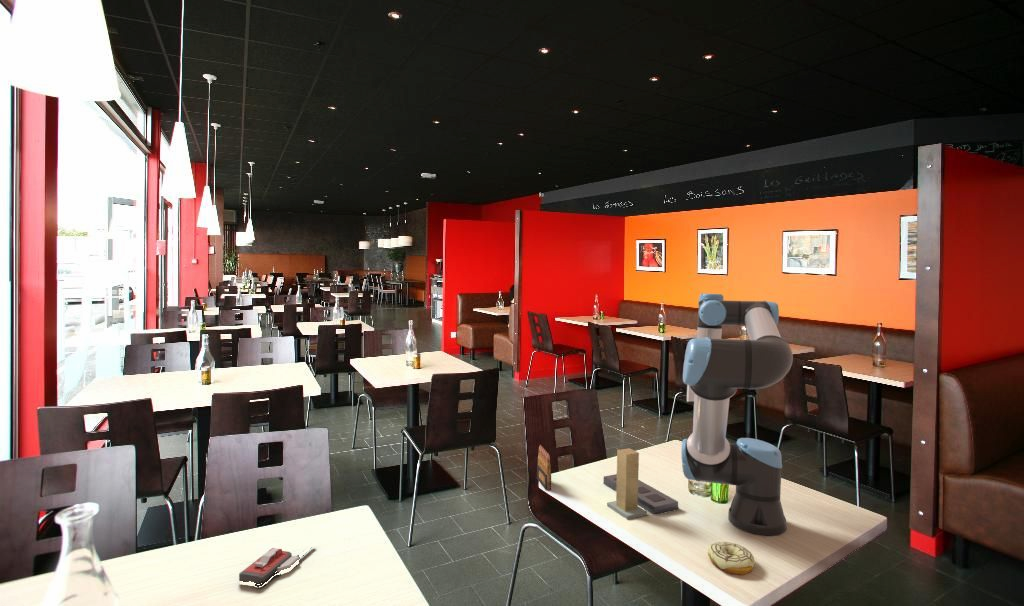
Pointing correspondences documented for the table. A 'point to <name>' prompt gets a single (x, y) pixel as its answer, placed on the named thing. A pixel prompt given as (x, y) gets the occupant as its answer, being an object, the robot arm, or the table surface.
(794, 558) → the table surface
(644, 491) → the dark square socket tray
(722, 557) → the decorated donut
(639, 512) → the rubber mat
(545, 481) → the brown upright box
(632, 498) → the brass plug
